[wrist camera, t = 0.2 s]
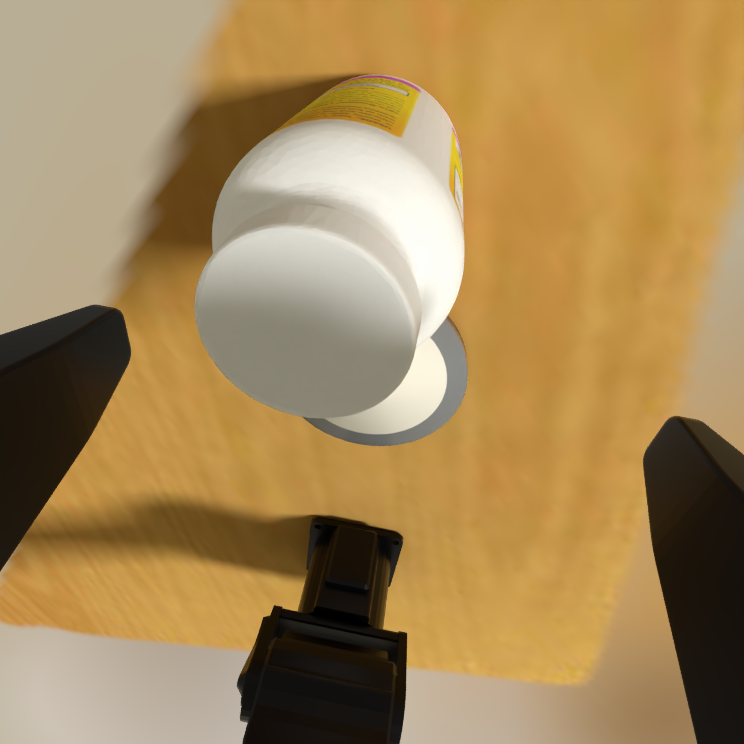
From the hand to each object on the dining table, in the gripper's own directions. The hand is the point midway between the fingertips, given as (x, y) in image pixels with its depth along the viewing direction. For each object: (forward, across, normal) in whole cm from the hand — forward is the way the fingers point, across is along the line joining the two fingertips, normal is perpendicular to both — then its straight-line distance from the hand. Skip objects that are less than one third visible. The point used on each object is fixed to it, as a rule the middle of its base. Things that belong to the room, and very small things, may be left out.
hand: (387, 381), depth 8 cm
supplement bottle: (+15, +2, +1) cm, 15 cm away
